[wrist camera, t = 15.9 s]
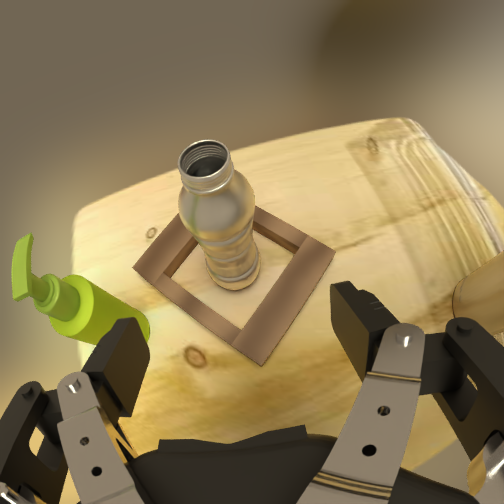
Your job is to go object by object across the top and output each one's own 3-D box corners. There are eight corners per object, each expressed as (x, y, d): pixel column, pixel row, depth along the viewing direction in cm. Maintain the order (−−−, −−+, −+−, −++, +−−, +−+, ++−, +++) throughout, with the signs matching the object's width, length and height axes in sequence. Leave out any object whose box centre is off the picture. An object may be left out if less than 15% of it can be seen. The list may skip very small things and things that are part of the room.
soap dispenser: (141, 296, 35) (44, 218, 17) (155, 345, 32) (45, 303, 14) (106, 309, 34) (0, 247, 16) (117, 358, 32) (-2, 325, 13)
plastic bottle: (212, 297, 35) (152, 207, 16) (209, 248, 37) (161, 134, 19) (264, 291, 34) (258, 191, 16) (257, 241, 37) (246, 120, 19)
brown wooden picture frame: (332, 259, 36) (336, 251, 33) (261, 366, 31) (261, 365, 28) (211, 190, 41) (208, 180, 39) (139, 274, 36) (132, 267, 34)
